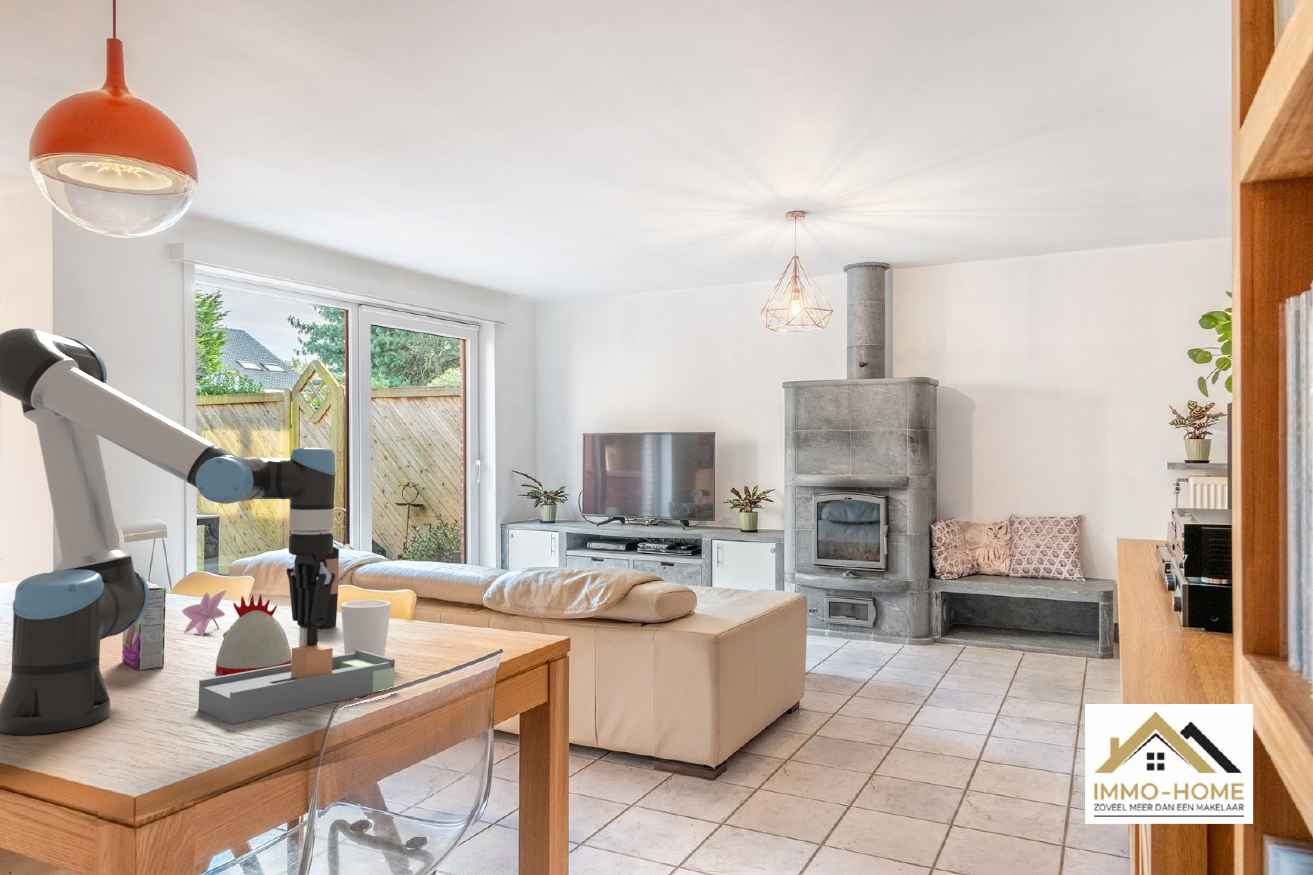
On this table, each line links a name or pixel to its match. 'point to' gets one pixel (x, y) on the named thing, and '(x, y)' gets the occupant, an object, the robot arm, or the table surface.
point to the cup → (365, 625)
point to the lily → (204, 612)
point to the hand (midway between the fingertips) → (307, 662)
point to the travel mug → (332, 589)
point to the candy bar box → (147, 634)
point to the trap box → (293, 687)
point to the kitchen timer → (253, 641)
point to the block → (311, 661)
